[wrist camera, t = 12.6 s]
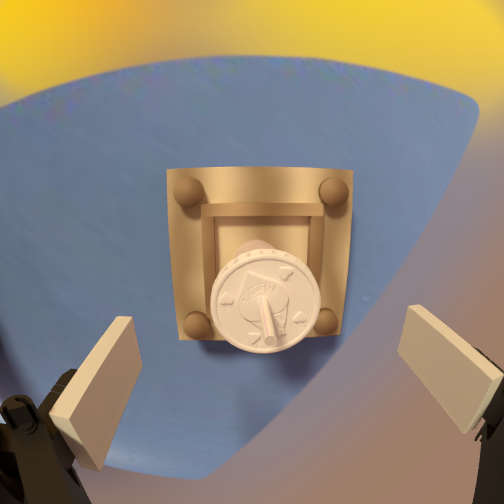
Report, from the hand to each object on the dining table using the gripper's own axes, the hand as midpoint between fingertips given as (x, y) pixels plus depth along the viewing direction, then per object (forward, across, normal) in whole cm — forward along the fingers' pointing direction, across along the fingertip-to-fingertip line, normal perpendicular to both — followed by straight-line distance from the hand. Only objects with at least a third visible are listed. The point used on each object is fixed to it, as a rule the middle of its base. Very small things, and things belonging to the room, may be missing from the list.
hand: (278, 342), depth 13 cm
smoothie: (+14, 0, 0) cm, 14 cm away
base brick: (+18, 0, 0) cm, 18 cm away
